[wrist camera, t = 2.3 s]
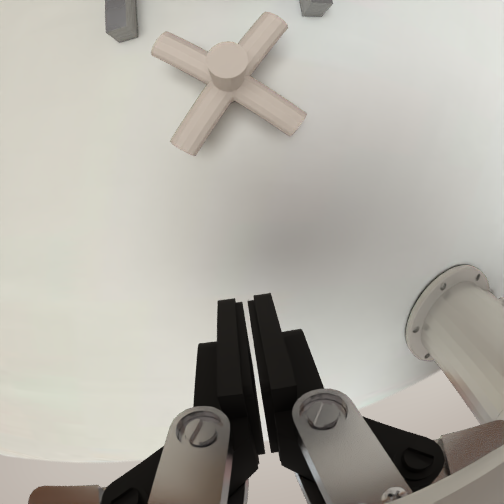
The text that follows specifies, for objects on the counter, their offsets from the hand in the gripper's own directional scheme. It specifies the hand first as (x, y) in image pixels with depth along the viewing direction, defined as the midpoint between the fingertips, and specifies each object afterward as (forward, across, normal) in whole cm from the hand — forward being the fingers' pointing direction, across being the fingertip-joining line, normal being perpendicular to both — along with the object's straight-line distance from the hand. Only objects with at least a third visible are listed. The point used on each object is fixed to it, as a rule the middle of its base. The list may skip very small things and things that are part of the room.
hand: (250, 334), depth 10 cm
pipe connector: (+16, -1, -10) cm, 18 cm away
